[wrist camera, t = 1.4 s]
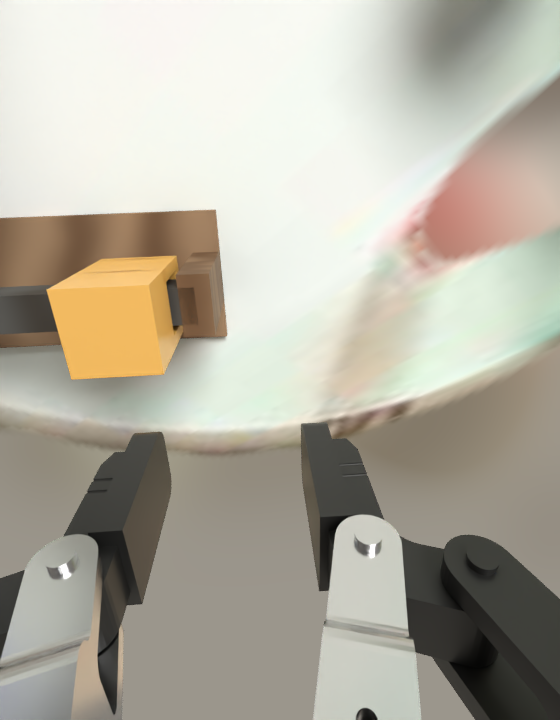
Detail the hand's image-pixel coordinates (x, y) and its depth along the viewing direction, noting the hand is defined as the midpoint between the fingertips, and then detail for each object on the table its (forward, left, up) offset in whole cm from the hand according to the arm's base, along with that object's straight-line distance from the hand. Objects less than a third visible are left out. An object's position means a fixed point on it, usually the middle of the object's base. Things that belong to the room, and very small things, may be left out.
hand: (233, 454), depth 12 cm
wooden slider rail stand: (-9, -9, -23) cm, 27 cm away
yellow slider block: (-5, -5, -19) cm, 20 cm away
